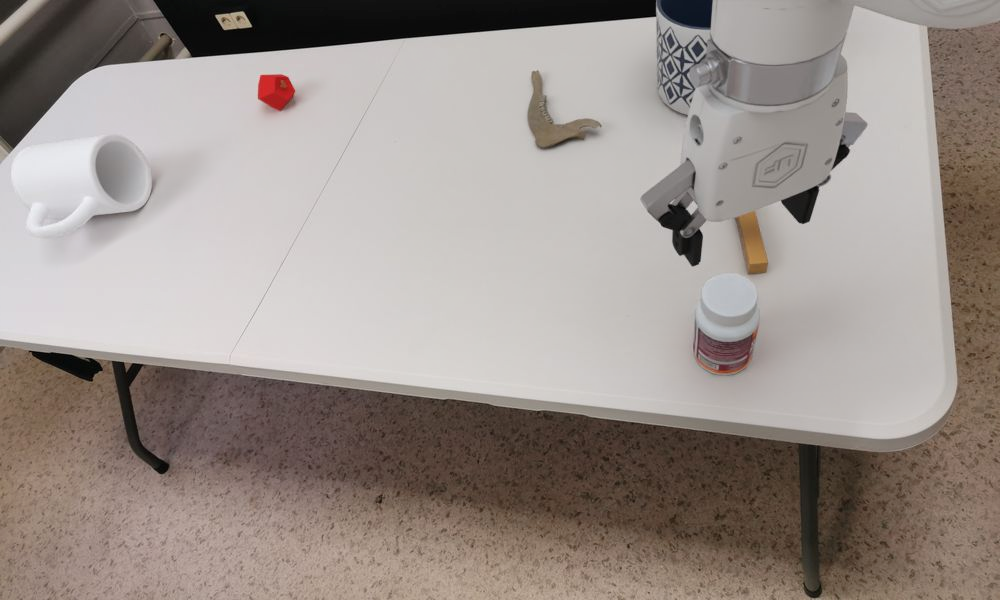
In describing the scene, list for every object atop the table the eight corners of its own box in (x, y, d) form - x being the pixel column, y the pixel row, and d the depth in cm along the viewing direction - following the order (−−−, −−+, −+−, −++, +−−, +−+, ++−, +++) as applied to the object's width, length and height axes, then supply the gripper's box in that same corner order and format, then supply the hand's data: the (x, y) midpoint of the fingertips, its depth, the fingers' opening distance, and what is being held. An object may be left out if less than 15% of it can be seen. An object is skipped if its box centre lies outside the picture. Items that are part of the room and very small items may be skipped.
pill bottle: (760, 370, 66) (775, 312, 57) (702, 382, 66) (708, 327, 57) (739, 323, 69) (750, 261, 60) (685, 335, 70) (687, 276, 61)
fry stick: (731, 200, 79) (732, 189, 78) (747, 198, 79) (749, 187, 77) (748, 274, 73) (749, 264, 71) (766, 272, 72) (768, 262, 71)
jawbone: (553, 165, 91) (550, 155, 89) (491, 101, 103) (488, 91, 102) (604, 133, 91) (601, 122, 90) (536, 73, 104) (533, 63, 102)
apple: (239, 86, 112) (260, 76, 107) (266, 69, 116) (287, 59, 111) (262, 120, 116) (283, 112, 110) (287, 103, 119) (309, 95, 114)
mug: (91, 182, 115) (34, 128, 105) (163, 173, 111) (112, 117, 101) (39, 263, 104) (-29, 213, 94) (118, 256, 101) (55, 203, 90)
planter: (773, 116, 86) (789, 21, 75) (656, 124, 90) (655, 36, 79) (764, 47, 95) (777, -47, 83) (658, 58, 99) (656, -31, 87)
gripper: (669, 140, 35) (665, 303, 49) (946, 34, 36) (865, 226, 49) (616, 71, 40) (626, 238, 54) (862, -23, 40) (809, 168, 54)
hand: (740, 232), depth 52 cm, fingers open, 9 cm apart
